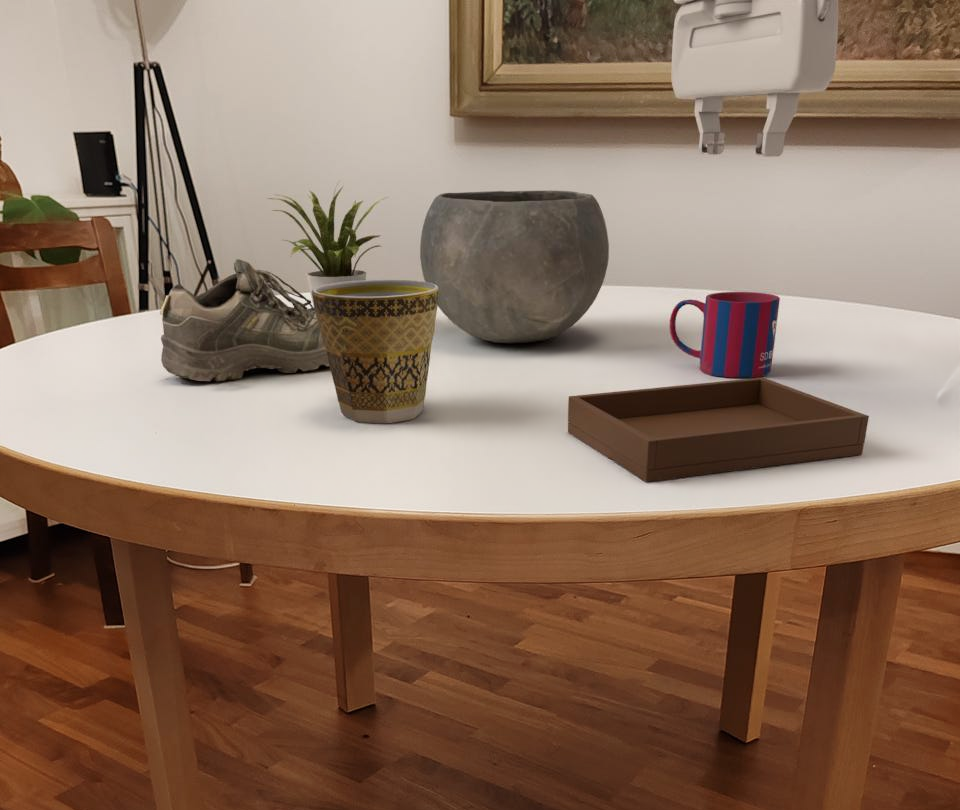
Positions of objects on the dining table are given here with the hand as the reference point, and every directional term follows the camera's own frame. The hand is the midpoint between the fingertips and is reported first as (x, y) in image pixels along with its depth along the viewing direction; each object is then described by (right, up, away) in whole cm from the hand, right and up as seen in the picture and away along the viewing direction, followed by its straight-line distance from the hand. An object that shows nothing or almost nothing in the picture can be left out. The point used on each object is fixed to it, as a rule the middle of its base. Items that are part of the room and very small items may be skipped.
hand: (738, 155), depth 87 cm
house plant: (-41, -5, +32) cm, 52 cm away
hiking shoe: (-44, -16, +12) cm, 48 cm away
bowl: (-19, -9, +24) cm, 32 cm away
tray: (-6, -28, -14) cm, 32 cm away
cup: (0, -17, +9) cm, 19 cm away
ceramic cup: (-32, -24, -4) cm, 40 cm away
